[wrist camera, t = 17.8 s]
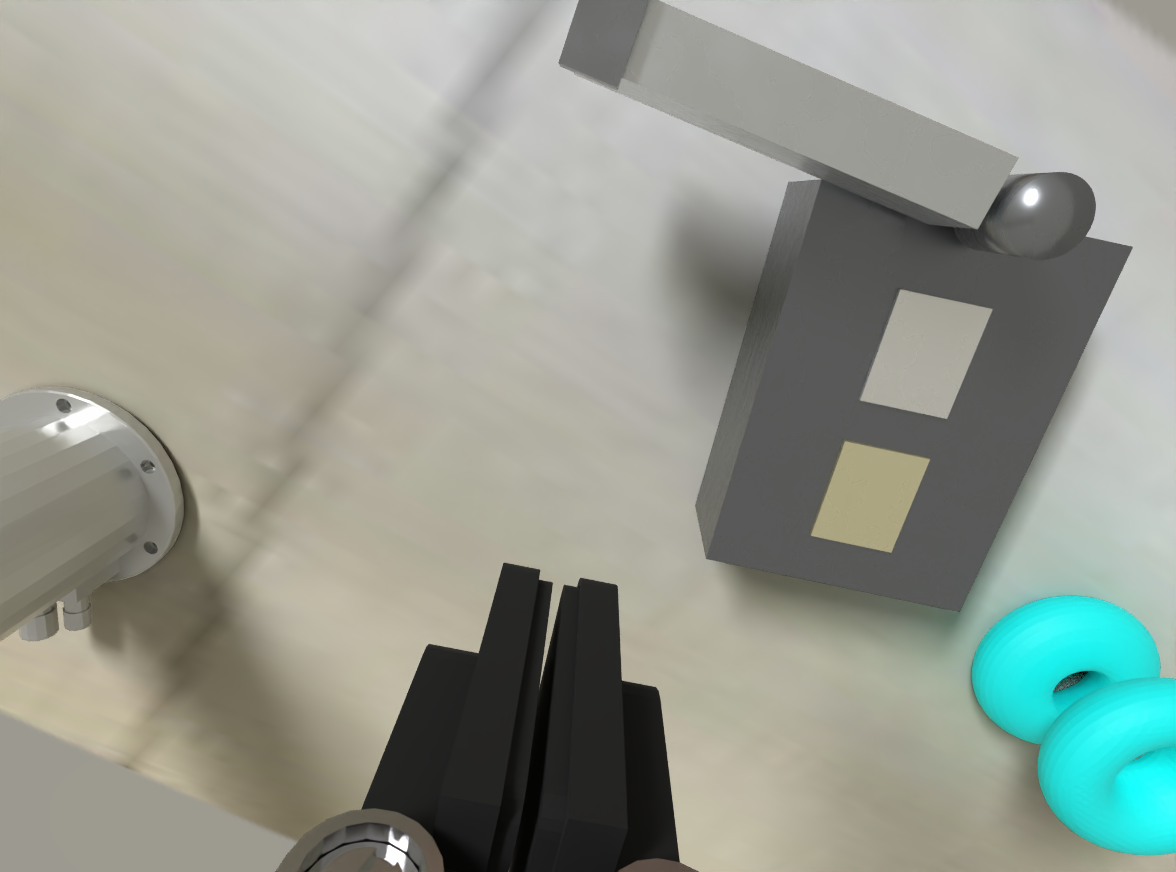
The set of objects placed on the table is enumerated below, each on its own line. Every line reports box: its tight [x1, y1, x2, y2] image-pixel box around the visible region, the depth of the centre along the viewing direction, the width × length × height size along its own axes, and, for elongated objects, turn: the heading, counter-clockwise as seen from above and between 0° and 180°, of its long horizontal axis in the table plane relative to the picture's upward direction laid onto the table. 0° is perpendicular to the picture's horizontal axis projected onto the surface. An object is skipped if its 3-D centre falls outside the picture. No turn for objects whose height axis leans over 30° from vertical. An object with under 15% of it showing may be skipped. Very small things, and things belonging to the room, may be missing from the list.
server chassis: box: [695, 179, 1133, 612], centre depth 32 cm, size 20×13×7 cm, turn 168°
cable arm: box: [559, 0, 1096, 260], centre depth 23 cm, size 18×3×5 cm, turn 69°
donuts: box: [972, 596, 1176, 855], centre depth 36 cm, size 10×10×10 cm
